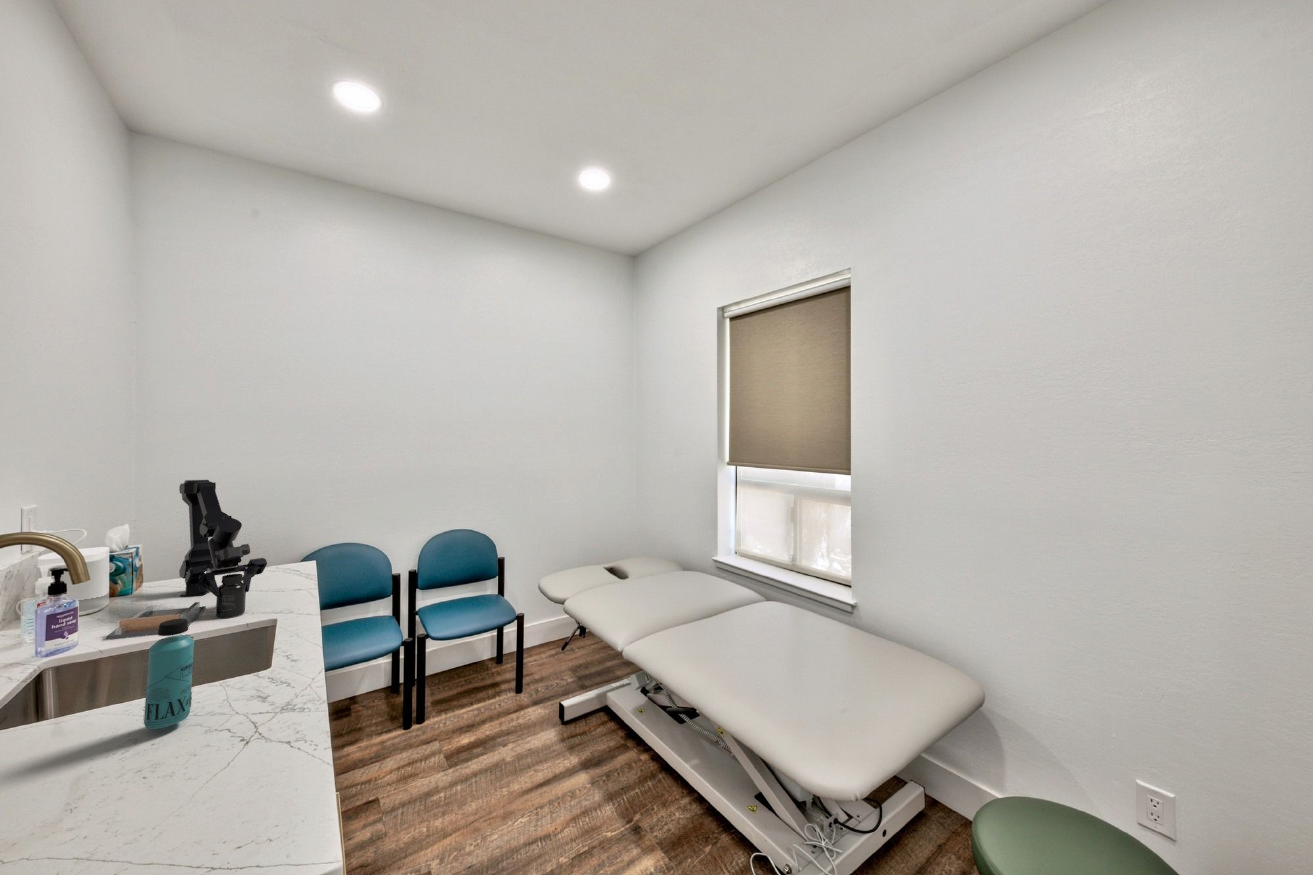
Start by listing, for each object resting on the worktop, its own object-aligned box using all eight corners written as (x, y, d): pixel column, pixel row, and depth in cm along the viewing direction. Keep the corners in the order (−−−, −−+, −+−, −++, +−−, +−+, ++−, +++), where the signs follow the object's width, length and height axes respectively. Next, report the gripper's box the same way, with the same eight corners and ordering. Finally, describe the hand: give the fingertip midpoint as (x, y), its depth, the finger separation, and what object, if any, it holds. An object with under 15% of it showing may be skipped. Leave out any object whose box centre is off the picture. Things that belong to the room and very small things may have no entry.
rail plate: (140, 615, 148) (140, 601, 148) (205, 609, 155) (206, 596, 155) (106, 639, 130) (107, 624, 130) (182, 631, 137) (183, 617, 137)
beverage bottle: (135, 741, 89) (141, 629, 89) (151, 722, 95) (157, 617, 95) (183, 732, 92) (189, 624, 92) (196, 714, 98) (202, 613, 98)
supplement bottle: (250, 612, 154) (253, 573, 154) (229, 619, 147) (232, 579, 148) (230, 610, 155) (233, 571, 155) (209, 617, 148) (211, 577, 148)
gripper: (190, 540, 146) (200, 585, 140) (266, 532, 162) (278, 572, 155) (180, 562, 150) (189, 607, 144) (255, 553, 166) (267, 592, 159)
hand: (233, 593), depth 151 cm, fingers closed on supplement bottle, 7 cm apart
